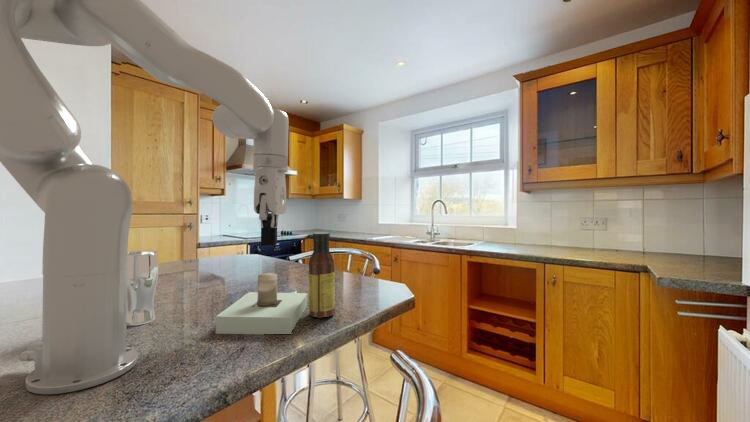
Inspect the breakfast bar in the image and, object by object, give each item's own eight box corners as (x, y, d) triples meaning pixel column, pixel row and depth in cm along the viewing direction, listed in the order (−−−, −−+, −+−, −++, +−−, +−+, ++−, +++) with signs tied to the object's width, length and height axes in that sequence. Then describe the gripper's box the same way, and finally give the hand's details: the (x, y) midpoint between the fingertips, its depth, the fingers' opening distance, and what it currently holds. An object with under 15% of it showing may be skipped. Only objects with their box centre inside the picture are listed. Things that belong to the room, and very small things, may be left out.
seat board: (215, 333, 64) (215, 316, 64) (248, 305, 82) (248, 292, 82) (290, 334, 64) (290, 317, 64) (307, 306, 82) (307, 293, 82)
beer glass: (111, 323, 68) (112, 253, 68) (146, 313, 74) (148, 249, 74) (128, 329, 65) (129, 256, 65) (164, 319, 71) (165, 252, 71)
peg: (273, 322, 71) (274, 277, 71) (253, 321, 71) (254, 277, 71) (279, 315, 75) (280, 273, 75) (260, 315, 75) (261, 273, 75)
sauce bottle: (337, 311, 79) (339, 232, 79) (331, 320, 73) (333, 234, 73) (311, 310, 80) (313, 231, 80) (303, 318, 74) (305, 233, 73)
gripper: (278, 160, 65) (276, 249, 66) (294, 169, 80) (292, 241, 81) (241, 159, 65) (239, 249, 65) (264, 168, 80) (263, 240, 80)
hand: (268, 244), depth 73 cm, fingers closed
